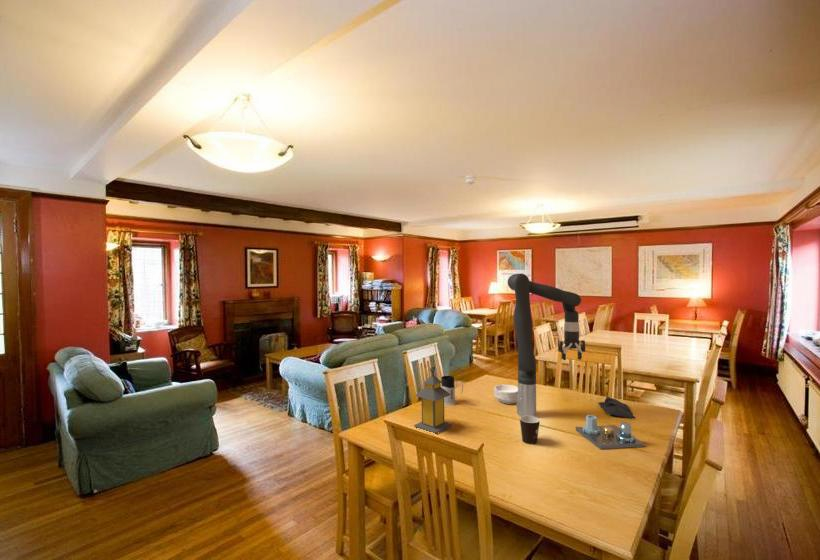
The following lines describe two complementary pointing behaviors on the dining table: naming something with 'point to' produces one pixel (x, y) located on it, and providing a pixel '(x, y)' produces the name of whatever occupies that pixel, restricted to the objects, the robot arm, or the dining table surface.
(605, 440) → the gear carrier
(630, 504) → the dining table surface
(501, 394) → the paper bowls
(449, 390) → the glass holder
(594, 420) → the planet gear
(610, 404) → the dark slate chunk
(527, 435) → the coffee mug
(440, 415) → the lantern
